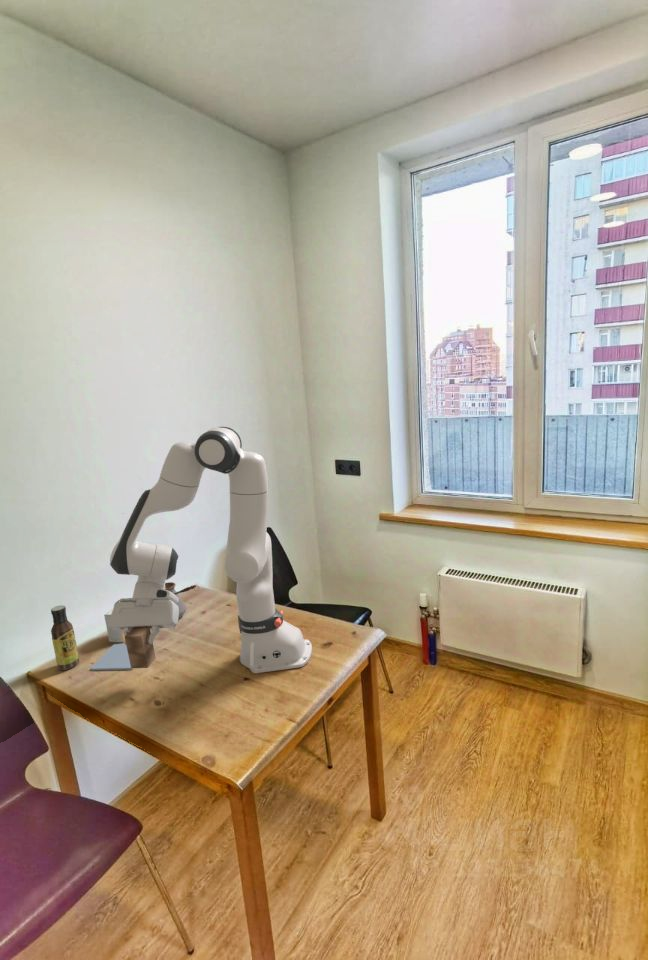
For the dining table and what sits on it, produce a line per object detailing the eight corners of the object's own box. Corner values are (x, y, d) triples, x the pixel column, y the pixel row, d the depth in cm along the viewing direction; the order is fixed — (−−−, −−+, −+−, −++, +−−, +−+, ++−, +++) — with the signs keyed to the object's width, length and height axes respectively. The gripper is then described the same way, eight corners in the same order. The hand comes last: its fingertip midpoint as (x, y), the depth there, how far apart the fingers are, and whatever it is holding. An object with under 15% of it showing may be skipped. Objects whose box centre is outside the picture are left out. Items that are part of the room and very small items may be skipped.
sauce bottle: (68, 672, 147) (55, 614, 143) (53, 670, 149) (40, 612, 145) (84, 660, 153) (72, 604, 149) (70, 658, 155) (58, 602, 151)
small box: (123, 642, 162) (117, 614, 160) (109, 642, 163) (103, 614, 161) (136, 630, 170) (131, 603, 168) (123, 630, 171) (117, 603, 169)
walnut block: (155, 657, 138) (149, 626, 136) (147, 667, 134) (141, 635, 132) (139, 658, 139) (133, 627, 137) (131, 668, 134) (124, 636, 132)
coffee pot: (149, 622, 175) (142, 584, 172) (172, 608, 185) (166, 572, 182) (191, 632, 165) (185, 592, 162) (213, 616, 175) (208, 579, 172)
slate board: (152, 644, 159) (152, 643, 159) (132, 669, 145) (131, 667, 145) (114, 645, 161) (113, 644, 161) (90, 670, 147) (89, 668, 147)
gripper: (110, 595, 141) (98, 642, 133) (175, 591, 138) (167, 639, 131) (121, 602, 146) (110, 648, 138) (184, 598, 143) (176, 645, 136)
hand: (138, 644), depth 134 cm, fingers closed on walnut block, 5 cm apart
